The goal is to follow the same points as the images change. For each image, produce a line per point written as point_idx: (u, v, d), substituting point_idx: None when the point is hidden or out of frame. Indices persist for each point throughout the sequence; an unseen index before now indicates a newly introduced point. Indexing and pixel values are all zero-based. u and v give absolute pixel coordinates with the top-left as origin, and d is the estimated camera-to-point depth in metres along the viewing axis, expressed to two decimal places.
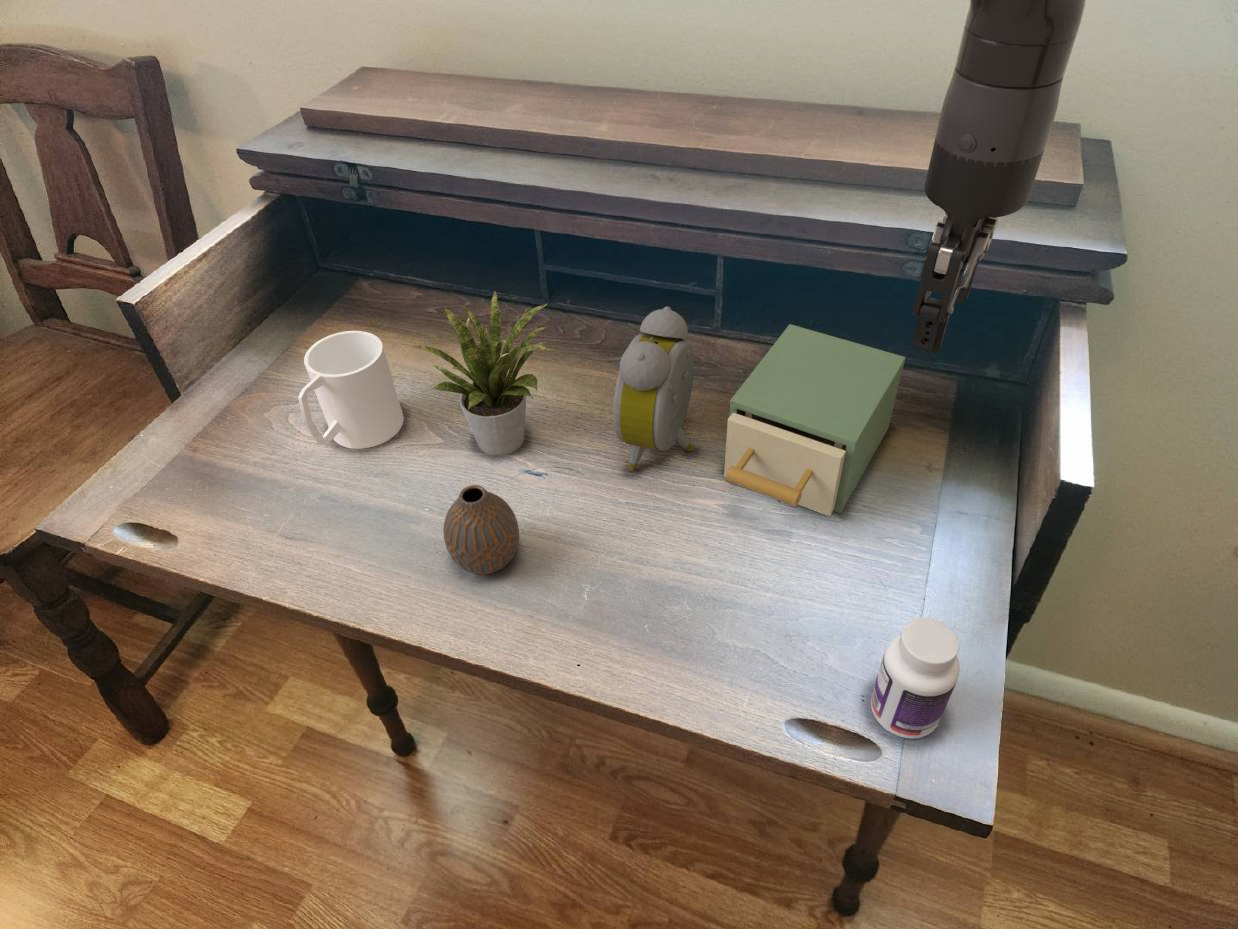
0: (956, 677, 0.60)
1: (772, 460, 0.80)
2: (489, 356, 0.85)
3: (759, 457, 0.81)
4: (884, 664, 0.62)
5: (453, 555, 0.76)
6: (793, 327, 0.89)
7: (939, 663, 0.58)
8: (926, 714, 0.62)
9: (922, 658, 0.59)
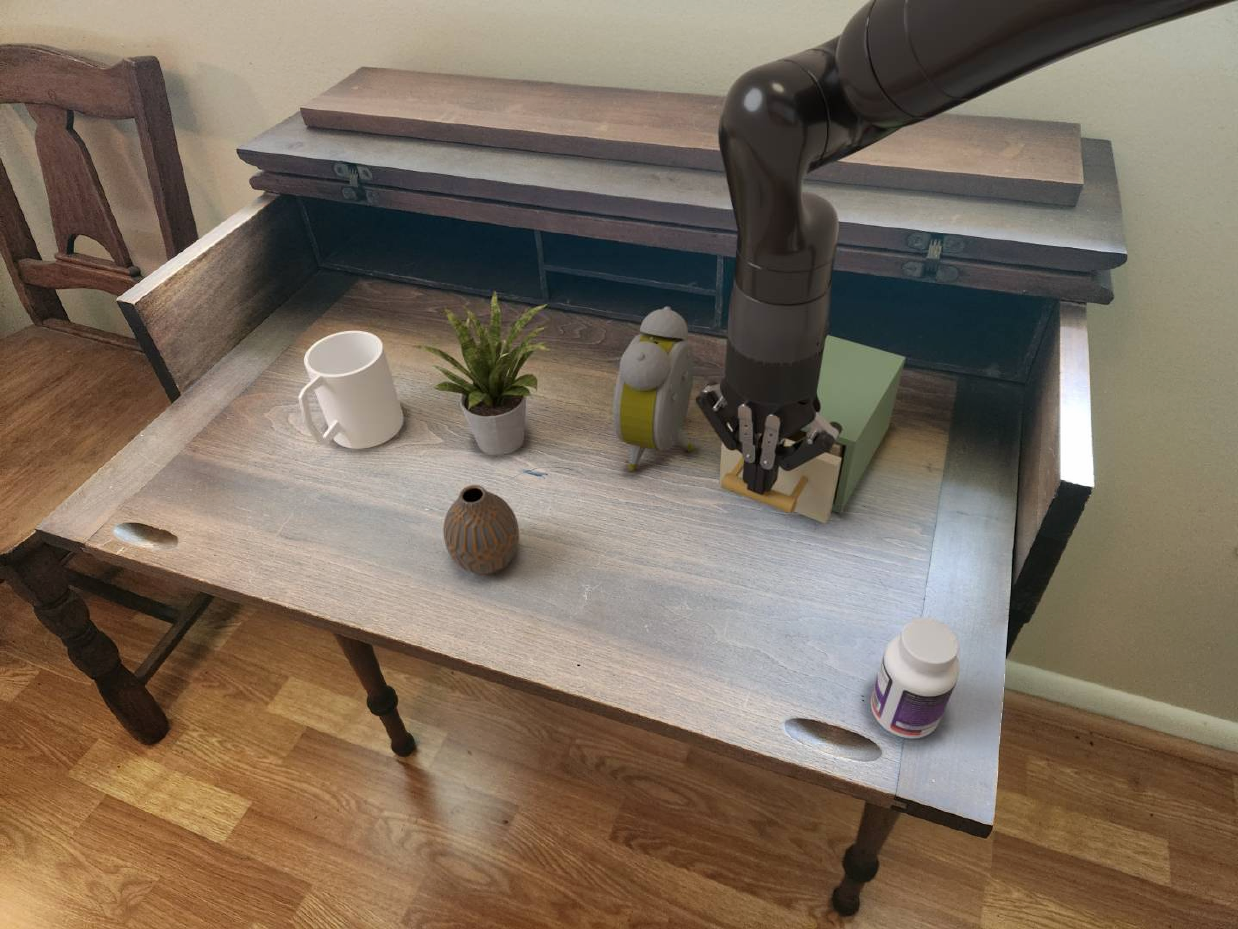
0: (956, 677, 0.60)
1: None
2: (489, 356, 0.85)
3: None
4: (884, 664, 0.62)
5: (453, 555, 0.76)
6: None
7: (939, 663, 0.58)
8: (926, 714, 0.62)
9: (922, 658, 0.59)
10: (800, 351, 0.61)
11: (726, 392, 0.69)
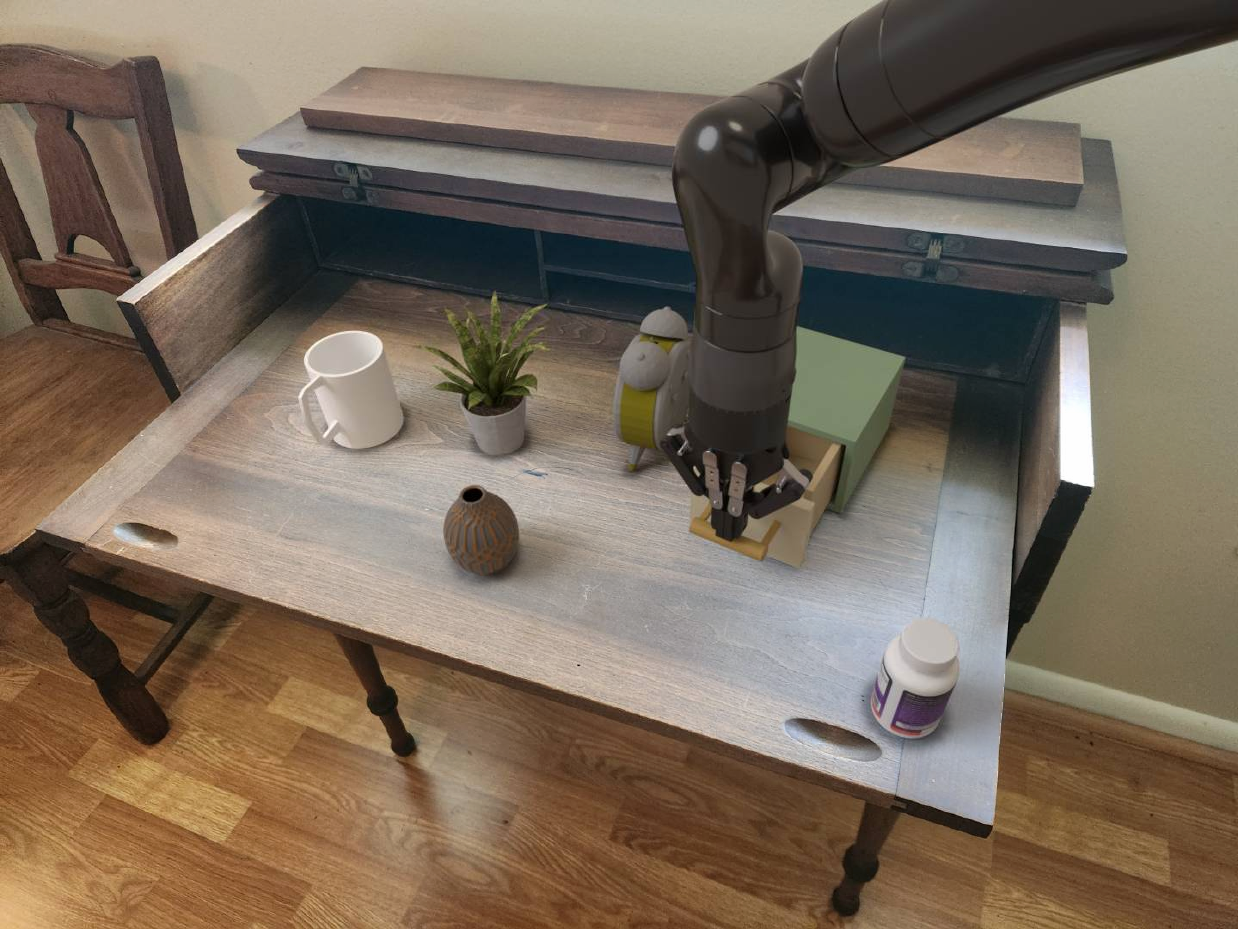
0: (956, 677, 0.60)
1: None
2: (489, 356, 0.85)
3: None
4: (884, 664, 0.62)
5: (453, 555, 0.76)
6: None
7: (939, 663, 0.58)
8: (926, 714, 0.62)
9: (922, 658, 0.59)
10: (764, 399, 0.57)
11: (690, 437, 0.65)
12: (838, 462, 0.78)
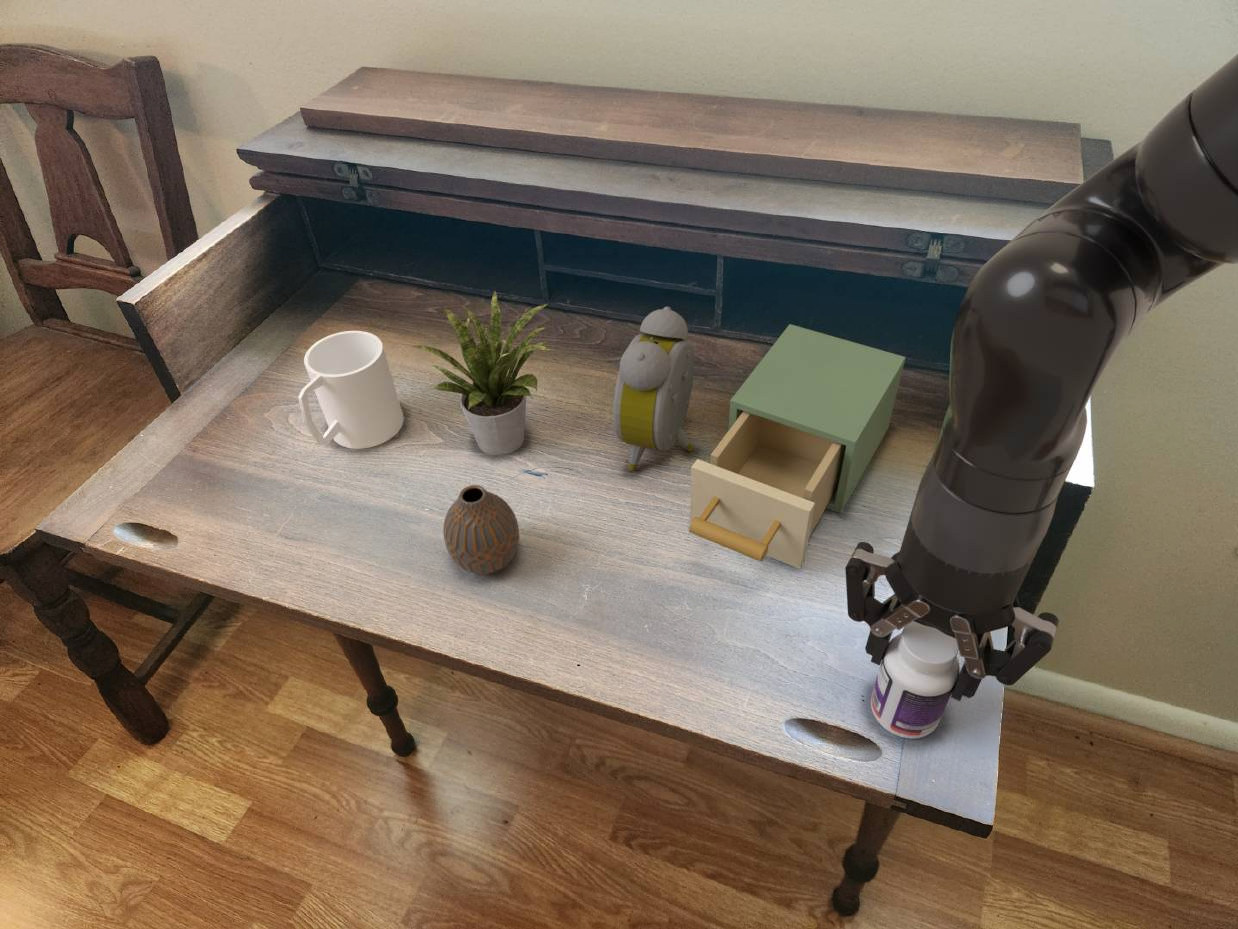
0: (956, 677, 0.60)
1: (738, 509, 0.75)
2: (489, 356, 0.85)
3: (725, 506, 0.76)
4: (884, 664, 0.62)
5: (453, 555, 0.76)
6: (793, 327, 0.89)
7: (939, 663, 0.58)
8: (926, 714, 0.62)
9: (922, 658, 0.59)
10: (1018, 561, 0.48)
11: (895, 581, 0.56)
12: (838, 462, 0.78)
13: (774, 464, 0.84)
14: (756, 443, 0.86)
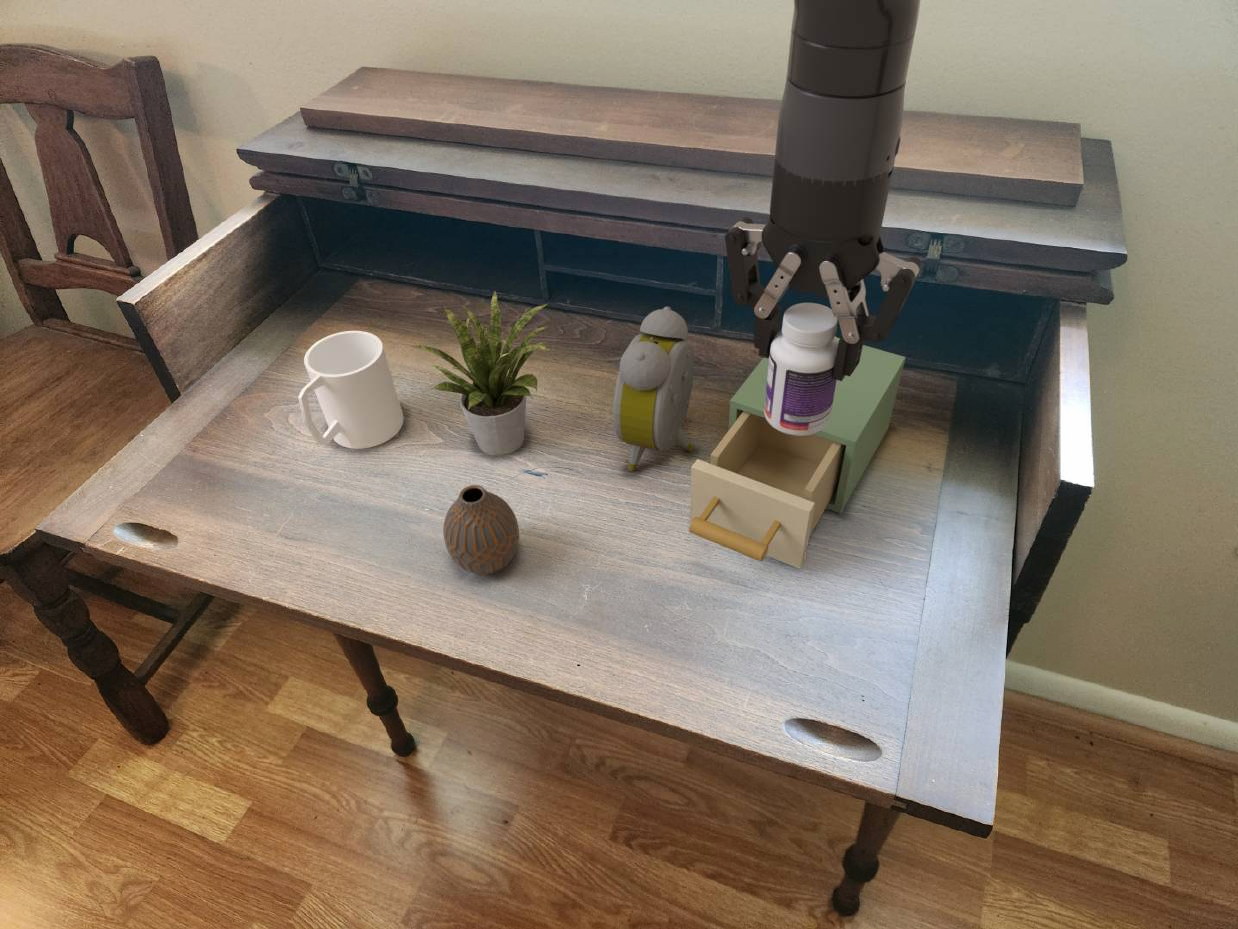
0: None
1: (738, 509, 0.75)
2: (489, 356, 0.85)
3: (725, 506, 0.76)
4: (770, 352, 0.64)
5: (453, 555, 0.76)
6: None
7: (816, 332, 0.60)
8: (810, 398, 0.64)
9: (800, 328, 0.61)
10: (868, 165, 0.50)
11: (769, 241, 0.58)
12: (838, 462, 0.78)
13: (774, 464, 0.84)
14: (756, 443, 0.86)
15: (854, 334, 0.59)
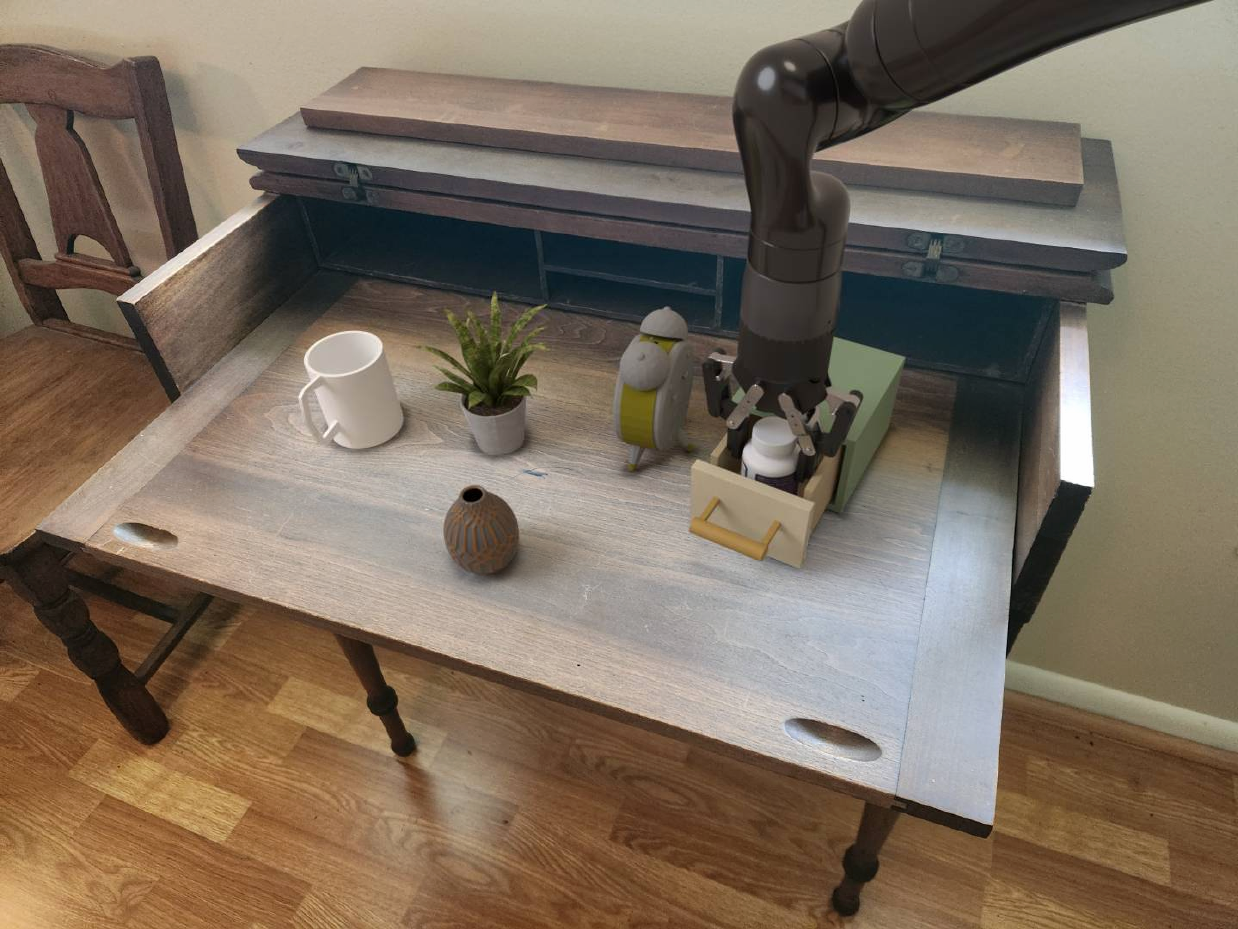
0: None
1: (738, 509, 0.75)
2: (489, 356, 0.85)
3: (725, 506, 0.76)
4: (742, 457, 0.76)
5: (453, 555, 0.76)
6: None
7: (779, 445, 0.72)
8: None
9: (766, 442, 0.73)
10: (812, 329, 0.62)
11: (738, 373, 0.70)
12: (838, 462, 0.78)
13: None
14: None
15: (811, 449, 0.71)
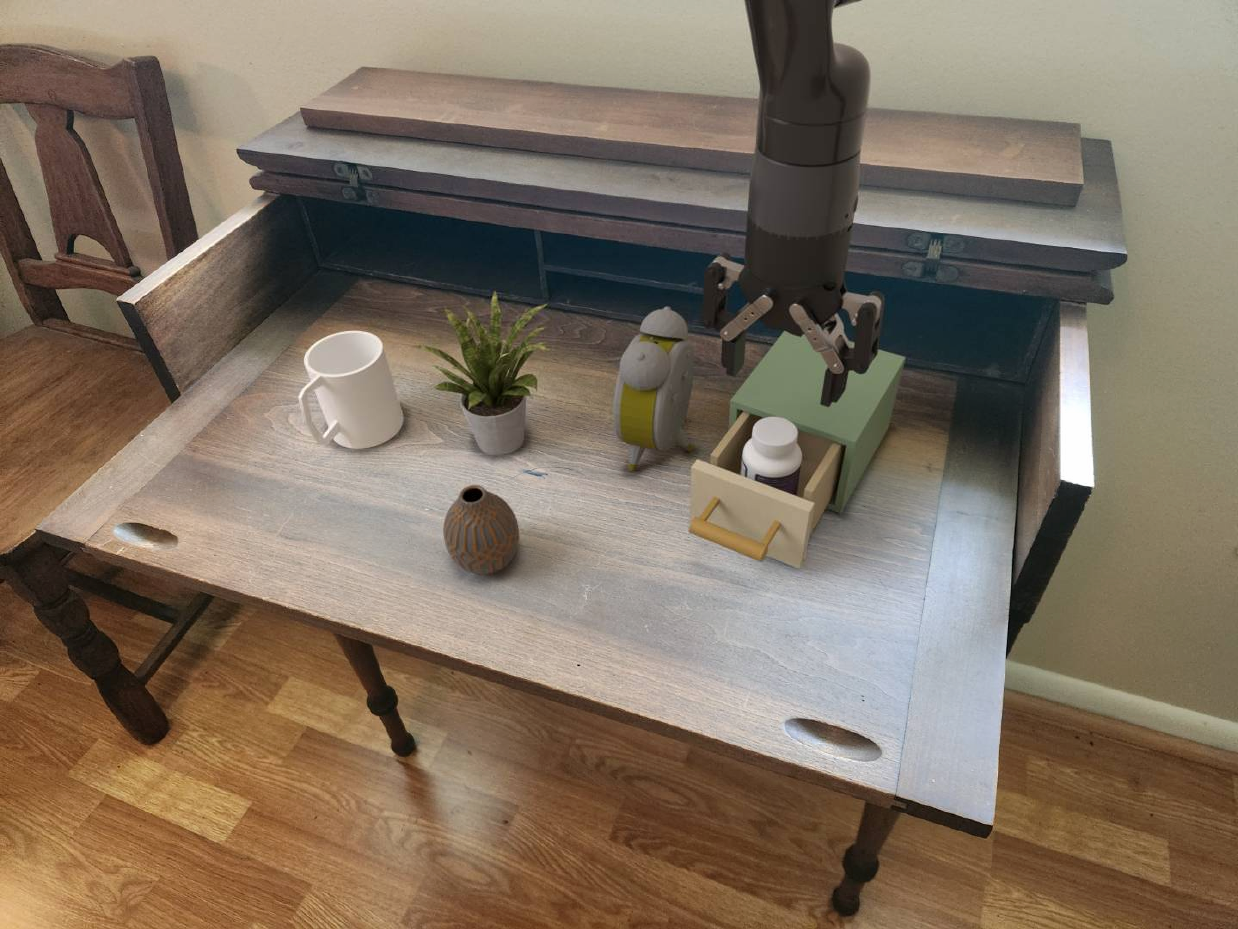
0: (797, 462, 0.74)
1: (738, 509, 0.75)
2: (489, 356, 0.85)
3: (725, 506, 0.76)
4: (742, 457, 0.76)
5: (453, 555, 0.76)
6: None
7: (779, 446, 0.72)
8: None
9: (766, 442, 0.73)
10: (828, 223, 0.56)
11: (745, 284, 0.64)
12: (838, 462, 0.78)
13: None
14: None
15: (839, 365, 0.64)
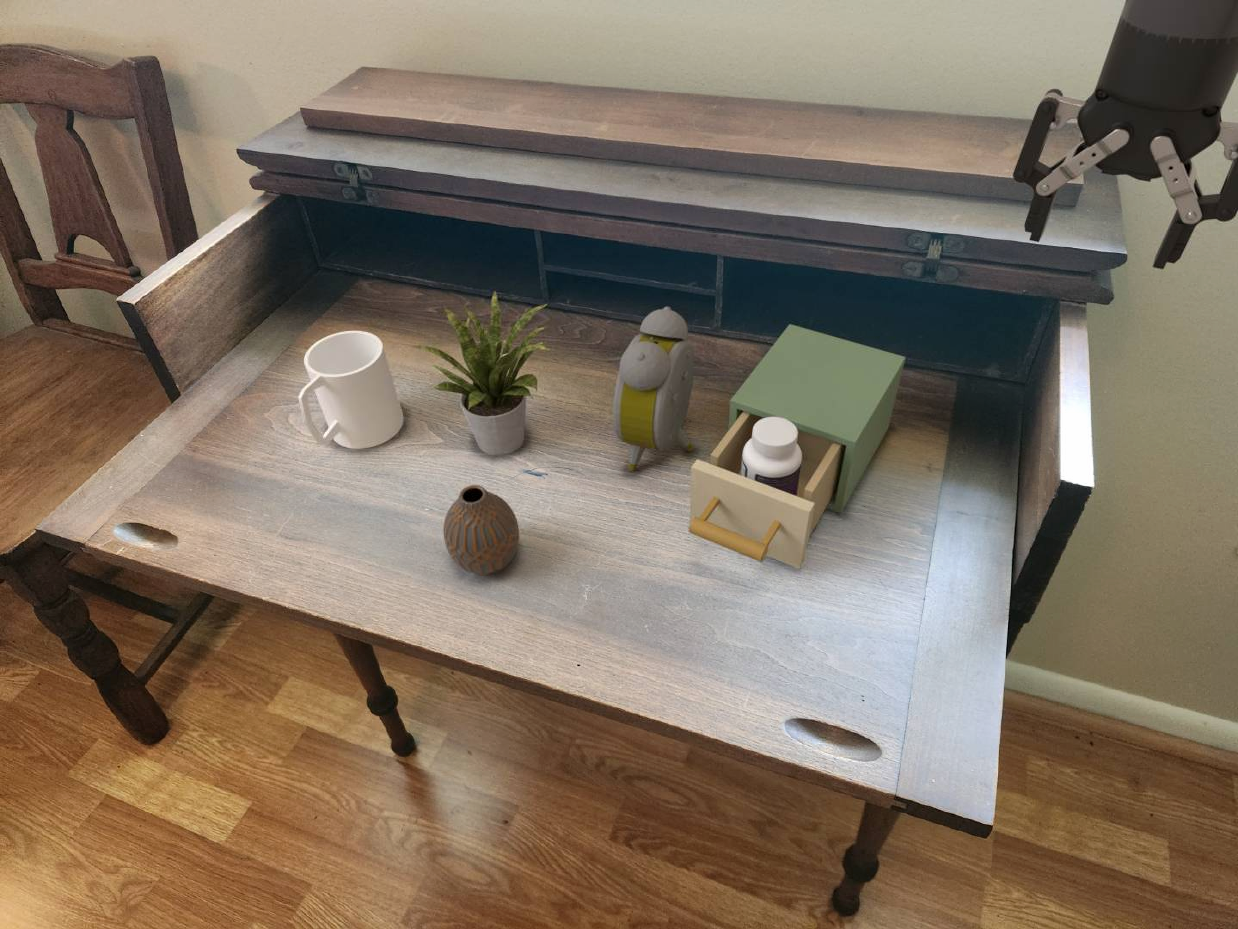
0: (797, 463, 0.74)
1: (738, 509, 0.75)
2: (489, 356, 0.85)
3: (725, 506, 0.76)
4: (742, 457, 0.76)
5: (453, 555, 0.76)
6: (793, 327, 0.89)
7: (779, 446, 0.72)
8: None
9: (766, 442, 0.73)
10: None
11: (1089, 120, 0.56)
12: (838, 462, 0.78)
13: None
14: None
15: (1197, 213, 0.56)
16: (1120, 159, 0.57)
